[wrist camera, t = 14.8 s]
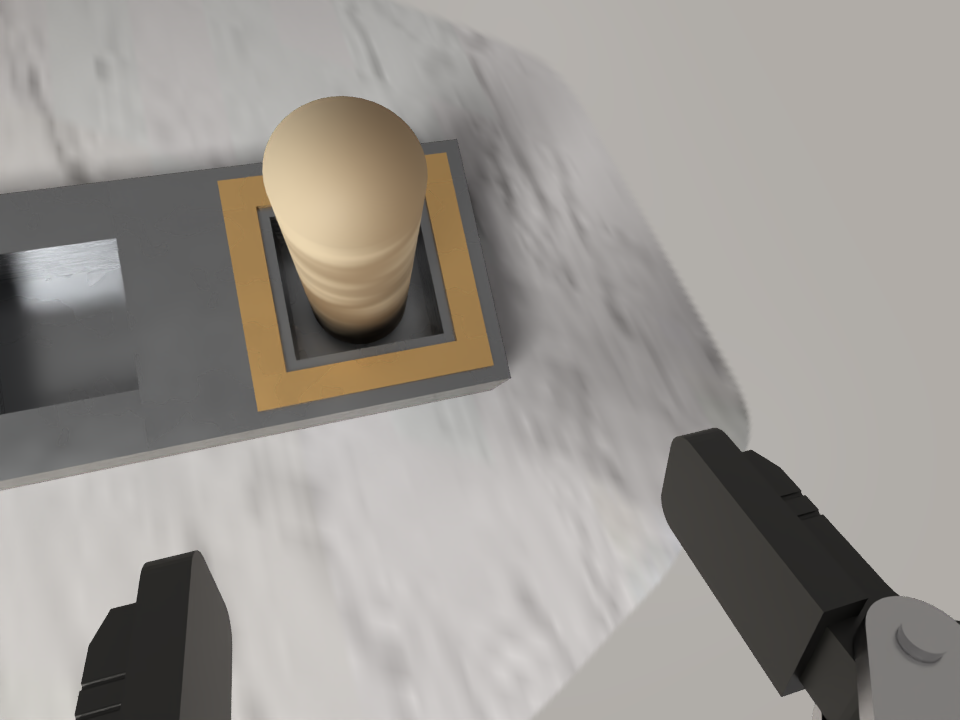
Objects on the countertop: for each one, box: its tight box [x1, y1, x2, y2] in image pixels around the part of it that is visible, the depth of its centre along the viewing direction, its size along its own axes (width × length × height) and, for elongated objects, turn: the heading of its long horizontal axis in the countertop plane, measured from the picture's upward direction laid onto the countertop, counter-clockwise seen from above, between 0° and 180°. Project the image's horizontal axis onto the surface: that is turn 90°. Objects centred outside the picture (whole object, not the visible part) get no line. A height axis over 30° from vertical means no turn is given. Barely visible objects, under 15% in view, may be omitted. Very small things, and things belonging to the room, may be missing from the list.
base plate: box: [0, 139, 511, 490], centre depth 26 cm, size 21×10×4 cm, turn 103°
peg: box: [262, 96, 428, 344], centre depth 22 cm, size 4×4×12 cm
